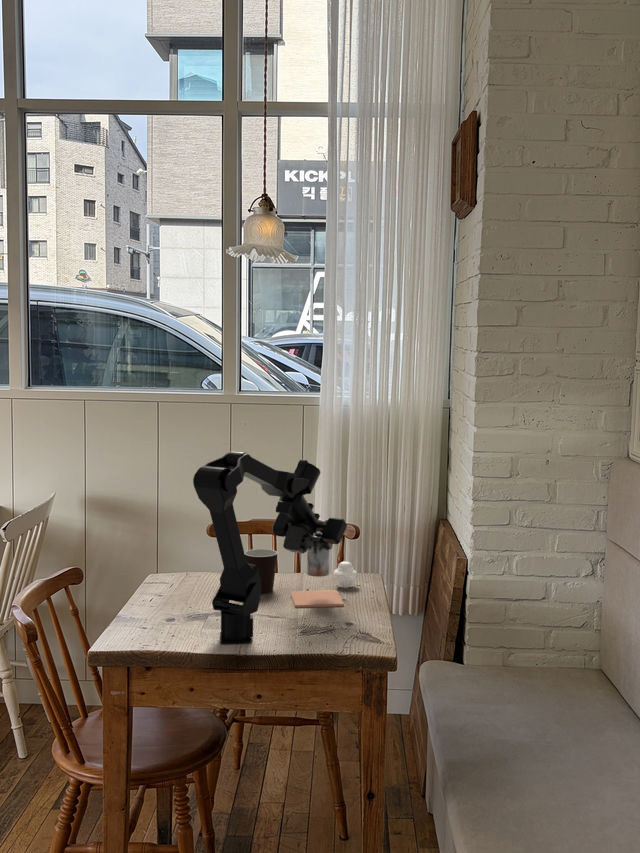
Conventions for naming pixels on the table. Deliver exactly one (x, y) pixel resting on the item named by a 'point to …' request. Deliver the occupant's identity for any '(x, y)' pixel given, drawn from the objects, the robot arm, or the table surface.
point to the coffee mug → (263, 566)
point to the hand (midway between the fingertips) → (321, 546)
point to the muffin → (345, 574)
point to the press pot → (318, 558)
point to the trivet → (316, 598)
